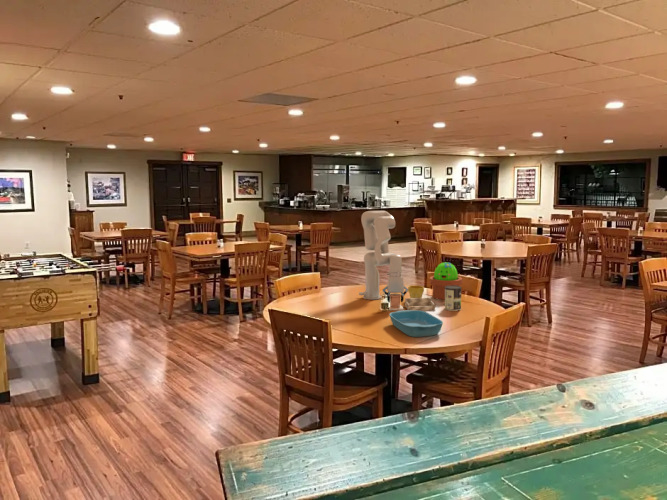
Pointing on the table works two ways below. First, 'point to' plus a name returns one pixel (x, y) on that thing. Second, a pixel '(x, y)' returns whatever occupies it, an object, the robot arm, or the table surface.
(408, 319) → the casserole dish
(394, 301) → the terracotta pot
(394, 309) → the stone tile
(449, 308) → the coffee can
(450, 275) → the potted cactus
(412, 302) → the frame
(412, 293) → the plant pot
